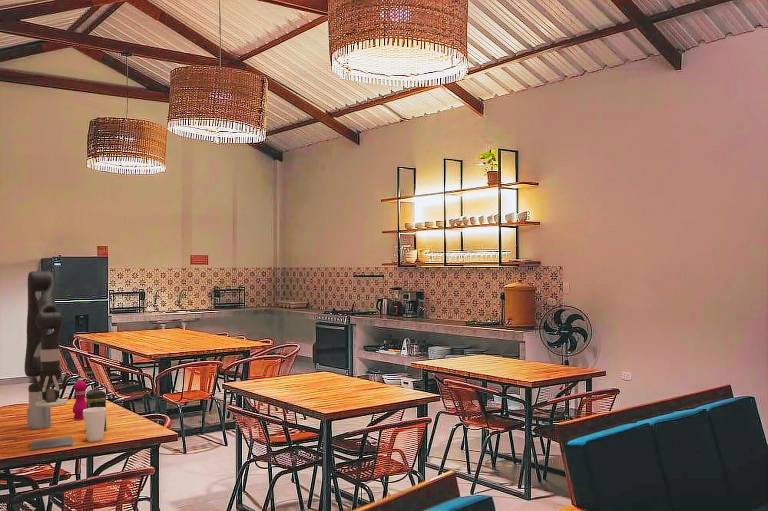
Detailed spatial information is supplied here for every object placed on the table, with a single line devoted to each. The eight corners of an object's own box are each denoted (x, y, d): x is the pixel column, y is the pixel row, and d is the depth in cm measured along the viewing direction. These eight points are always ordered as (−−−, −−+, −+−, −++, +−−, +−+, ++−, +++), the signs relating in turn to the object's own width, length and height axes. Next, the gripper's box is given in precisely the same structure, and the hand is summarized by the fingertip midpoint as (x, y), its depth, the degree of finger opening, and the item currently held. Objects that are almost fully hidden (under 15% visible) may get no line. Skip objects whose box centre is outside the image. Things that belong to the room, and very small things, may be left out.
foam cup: (98, 442, 312) (97, 411, 312) (79, 441, 314) (78, 411, 314) (111, 437, 321) (110, 407, 321) (92, 436, 323) (91, 407, 323)
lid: (30, 407, 305) (30, 392, 305) (42, 401, 317) (42, 387, 317) (59, 406, 306) (59, 392, 306) (70, 400, 318) (70, 386, 318)
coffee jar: (108, 430, 334) (107, 390, 334) (90, 433, 329) (89, 392, 329) (102, 427, 342) (101, 387, 342) (84, 429, 337) (84, 389, 337)
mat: (30, 450, 301) (30, 448, 301) (31, 442, 315) (31, 440, 315) (72, 445, 307) (72, 444, 307) (72, 437, 322) (72, 436, 322)
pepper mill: (75, 417, 366) (74, 377, 366) (90, 416, 367) (89, 376, 367) (70, 420, 359) (70, 379, 359) (85, 419, 360) (85, 378, 360)
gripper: (31, 361, 305) (32, 403, 305) (68, 359, 311) (69, 399, 311) (32, 359, 312) (32, 400, 312) (68, 357, 318) (69, 396, 318)
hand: (51, 399), depth 311 cm, fingers closed on lid, 4 cm apart
